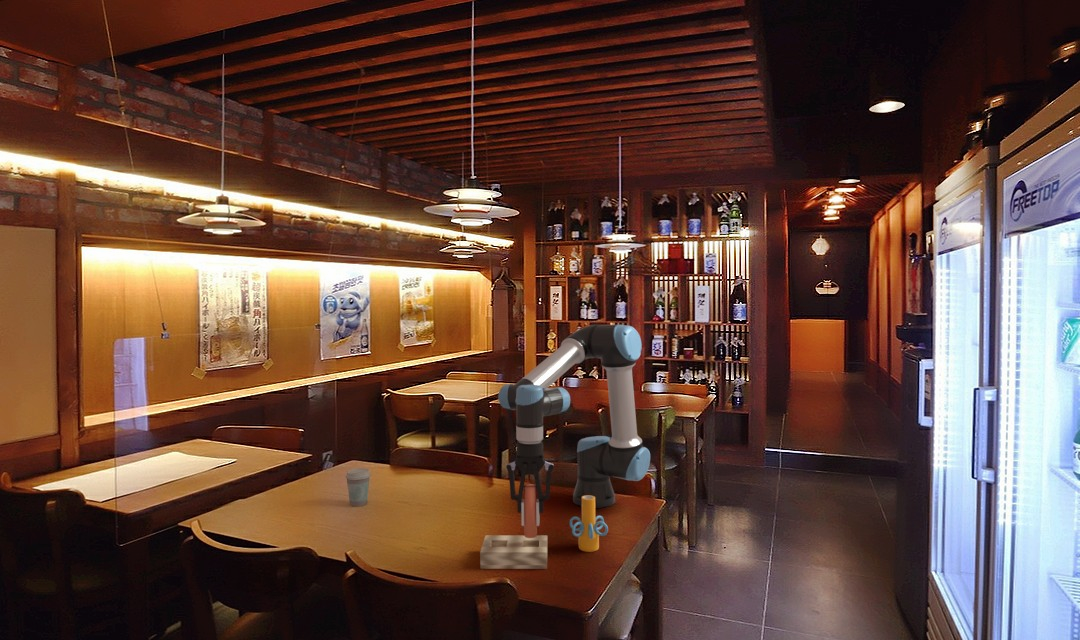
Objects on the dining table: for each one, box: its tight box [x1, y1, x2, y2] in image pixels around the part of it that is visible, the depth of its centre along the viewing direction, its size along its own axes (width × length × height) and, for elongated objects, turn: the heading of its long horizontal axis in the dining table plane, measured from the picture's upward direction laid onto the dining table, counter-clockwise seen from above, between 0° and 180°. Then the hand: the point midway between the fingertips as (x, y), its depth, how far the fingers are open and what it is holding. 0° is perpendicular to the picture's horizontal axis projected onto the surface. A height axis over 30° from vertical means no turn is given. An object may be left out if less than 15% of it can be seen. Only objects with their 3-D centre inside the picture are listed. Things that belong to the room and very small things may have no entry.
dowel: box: [523, 483, 538, 538], centre depth 170 cm, size 4×4×14 cm
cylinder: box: [569, 495, 609, 553], centre depth 178 cm, size 12×10×15 cm
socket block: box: [479, 534, 549, 570], centre depth 171 cm, size 18×12×4 cm, turn 88°
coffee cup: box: [345, 467, 371, 508], centre depth 220 cm, size 8×8×12 cm
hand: (530, 523), depth 170 cm, fingers closed on dowel, 3 cm apart
